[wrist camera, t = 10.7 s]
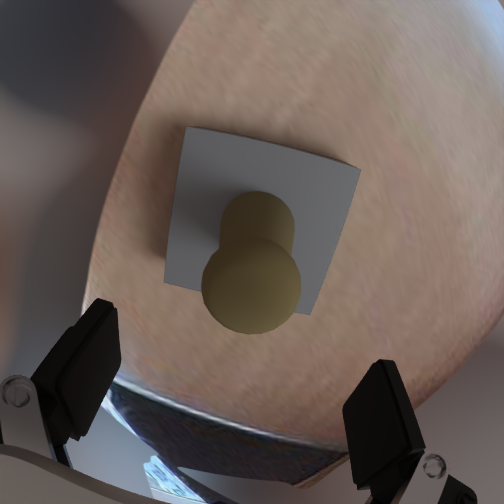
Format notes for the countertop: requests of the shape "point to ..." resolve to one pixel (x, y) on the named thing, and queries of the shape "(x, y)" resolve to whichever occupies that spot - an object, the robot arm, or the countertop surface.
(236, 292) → the cork
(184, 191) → the base block
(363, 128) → the countertop surface
